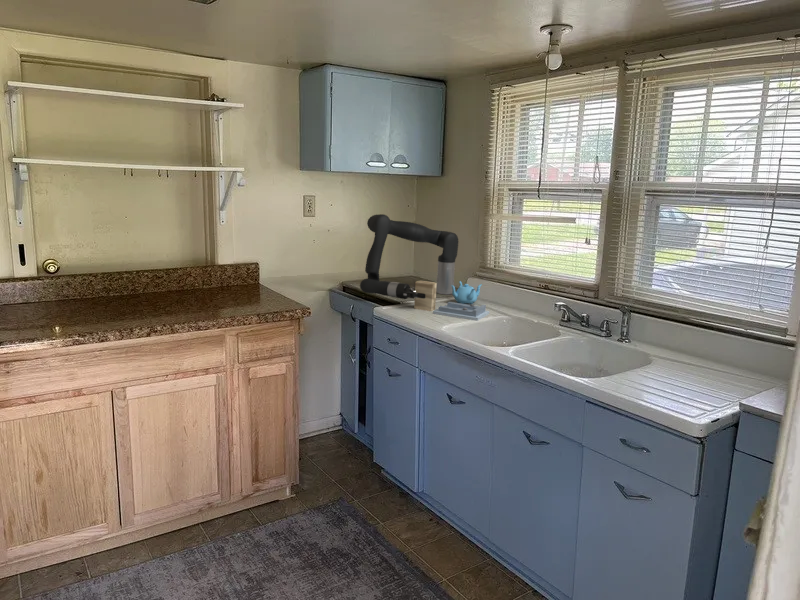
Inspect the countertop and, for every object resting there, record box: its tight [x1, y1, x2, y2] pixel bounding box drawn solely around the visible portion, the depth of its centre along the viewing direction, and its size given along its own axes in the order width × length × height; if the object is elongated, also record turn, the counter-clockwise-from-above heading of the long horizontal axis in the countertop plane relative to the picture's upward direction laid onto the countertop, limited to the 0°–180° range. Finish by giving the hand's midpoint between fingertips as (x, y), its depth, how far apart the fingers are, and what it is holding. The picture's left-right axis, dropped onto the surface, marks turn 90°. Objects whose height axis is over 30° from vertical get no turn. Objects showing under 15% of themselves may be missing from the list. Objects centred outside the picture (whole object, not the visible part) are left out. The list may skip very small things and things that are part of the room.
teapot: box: [451, 280, 483, 305], centre depth 296 cm, size 13×13×10 cm
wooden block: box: [413, 280, 437, 312], centre depth 281 cm, size 4×9×13 cm, turn 63°
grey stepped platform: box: [432, 301, 490, 322], centre depth 276 cm, size 16×22×4 cm
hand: (429, 294), depth 280 cm, fingers open, 8 cm apart
